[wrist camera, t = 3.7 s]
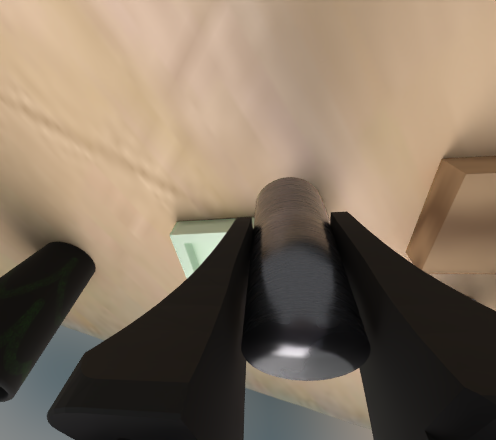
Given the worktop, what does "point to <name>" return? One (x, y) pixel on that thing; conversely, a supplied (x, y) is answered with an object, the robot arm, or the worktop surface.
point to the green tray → (198, 240)
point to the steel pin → (299, 290)
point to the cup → (37, 307)
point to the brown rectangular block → (458, 219)
